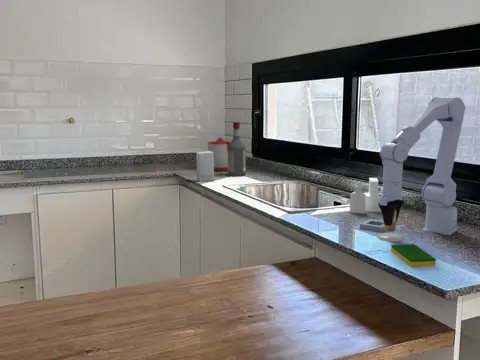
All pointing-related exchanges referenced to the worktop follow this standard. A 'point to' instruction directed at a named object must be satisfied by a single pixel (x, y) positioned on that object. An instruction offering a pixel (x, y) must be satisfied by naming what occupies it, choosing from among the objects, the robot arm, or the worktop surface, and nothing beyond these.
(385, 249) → the worktop surface
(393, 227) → the dowel
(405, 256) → the dish sponge
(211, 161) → the skincare box
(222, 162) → the citrus juicer
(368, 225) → the pocket block
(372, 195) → the base with upright slab
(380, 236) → the coaster
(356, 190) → the eye dropper bottle
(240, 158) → the liquor
